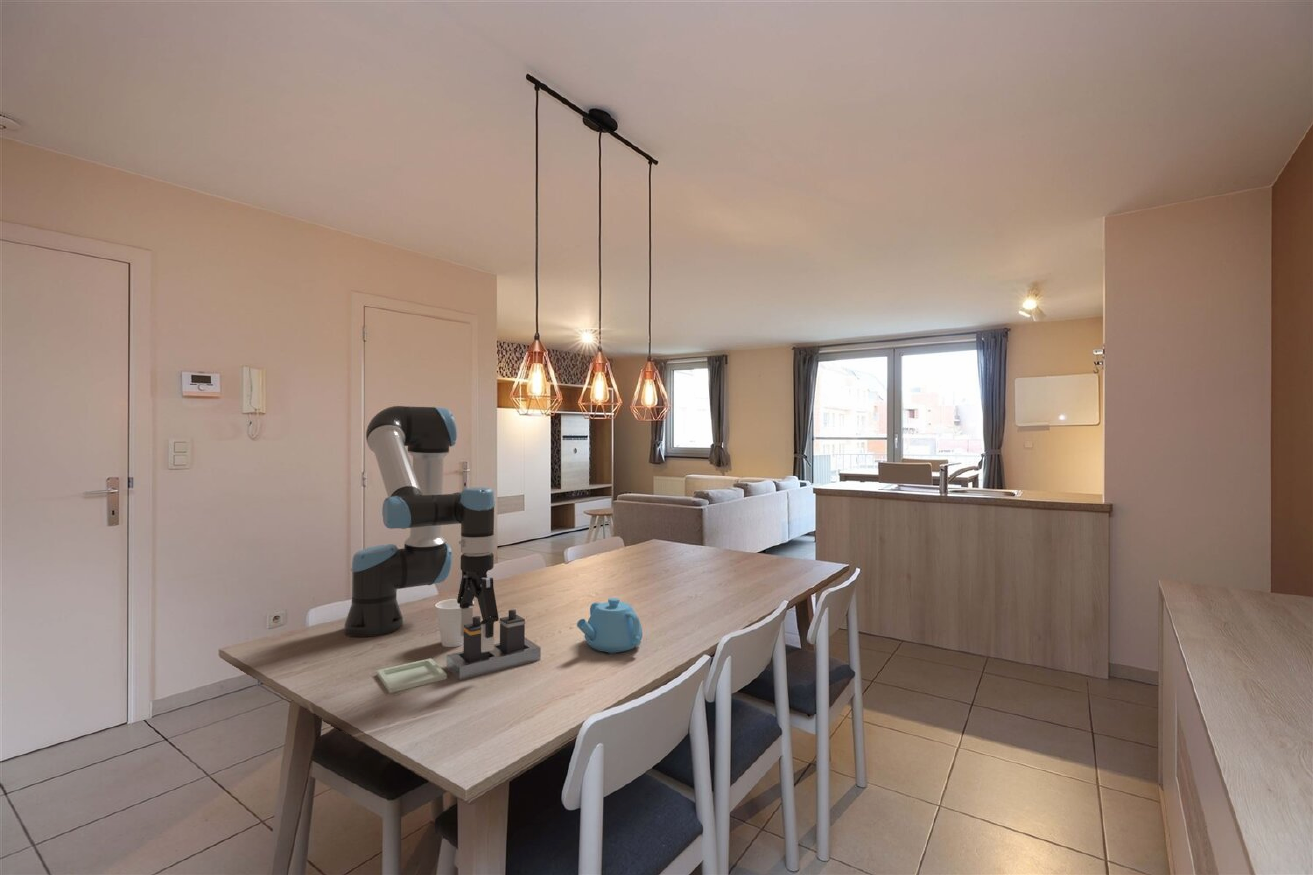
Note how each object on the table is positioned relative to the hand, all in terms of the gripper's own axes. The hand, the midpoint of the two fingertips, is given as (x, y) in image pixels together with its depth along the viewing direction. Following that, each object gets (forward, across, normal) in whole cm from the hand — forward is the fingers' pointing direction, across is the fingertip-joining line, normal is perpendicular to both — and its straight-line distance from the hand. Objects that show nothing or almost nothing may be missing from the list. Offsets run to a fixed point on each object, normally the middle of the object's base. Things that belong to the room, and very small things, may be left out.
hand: (476, 642), depth 134 cm
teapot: (+7, +7, +32) cm, 34 cm away
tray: (+7, -4, -14) cm, 16 cm away
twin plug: (+6, 0, +9) cm, 11 cm away
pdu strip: (+7, 0, +4) cm, 8 cm away
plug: (+6, 0, 0) cm, 6 cm away
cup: (+7, -20, +2) cm, 21 cm away
